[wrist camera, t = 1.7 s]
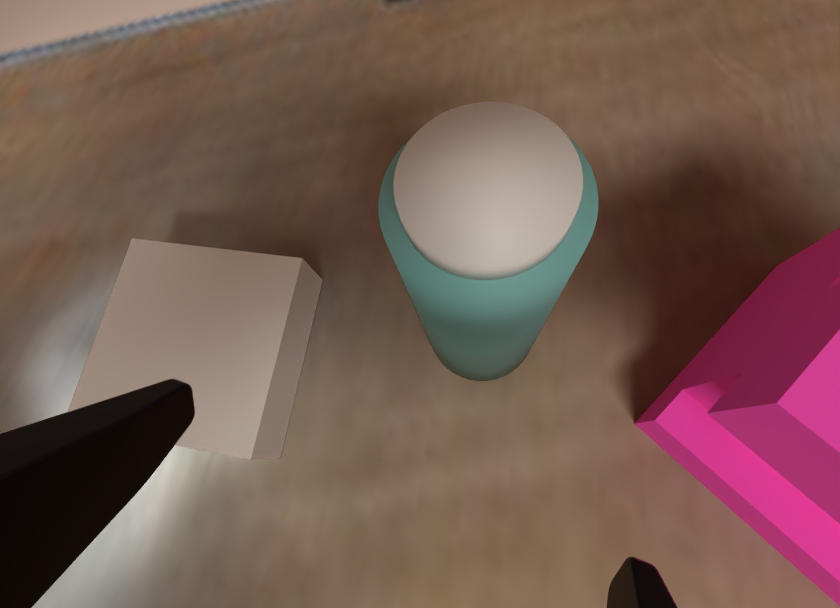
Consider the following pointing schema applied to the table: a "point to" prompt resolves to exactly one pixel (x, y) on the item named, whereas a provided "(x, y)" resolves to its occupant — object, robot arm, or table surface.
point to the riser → (208, 340)
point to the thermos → (487, 229)
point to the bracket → (770, 412)
